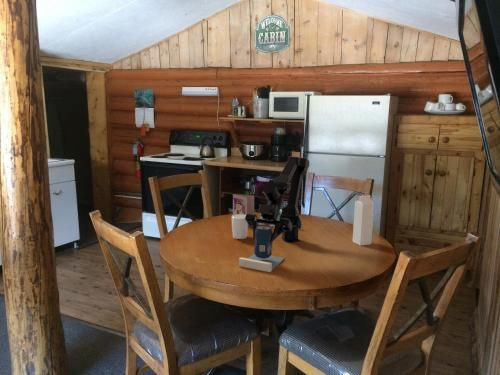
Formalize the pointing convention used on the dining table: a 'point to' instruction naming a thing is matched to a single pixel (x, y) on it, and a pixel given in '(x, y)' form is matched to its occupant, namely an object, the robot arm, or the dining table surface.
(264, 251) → the soda can
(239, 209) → the pink printed box
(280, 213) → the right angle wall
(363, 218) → the milk
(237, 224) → the white cup
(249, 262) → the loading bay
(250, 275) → the dining table surface
